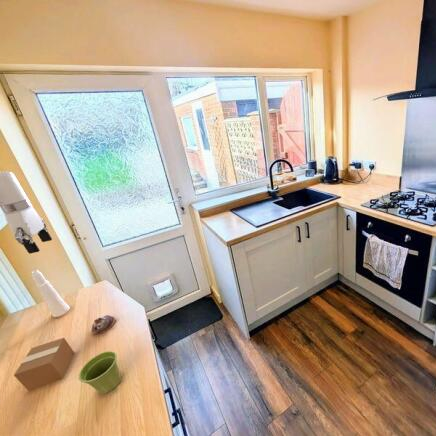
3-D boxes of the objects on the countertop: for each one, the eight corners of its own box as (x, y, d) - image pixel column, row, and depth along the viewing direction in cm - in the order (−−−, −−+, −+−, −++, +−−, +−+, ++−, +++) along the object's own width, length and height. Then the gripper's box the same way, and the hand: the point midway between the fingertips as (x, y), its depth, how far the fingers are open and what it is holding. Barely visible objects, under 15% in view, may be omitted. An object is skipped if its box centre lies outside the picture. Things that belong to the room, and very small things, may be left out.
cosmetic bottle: (55, 319, 105) (26, 278, 95) (50, 314, 108) (22, 274, 98) (72, 309, 109) (46, 269, 100) (67, 305, 112) (41, 265, 103)
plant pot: (84, 396, 73) (70, 378, 69) (111, 366, 81) (100, 348, 78) (108, 403, 71) (95, 384, 67) (134, 371, 79) (123, 353, 75)
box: (27, 391, 76) (12, 374, 73) (43, 363, 85) (31, 347, 82) (63, 378, 79) (50, 362, 76) (75, 352, 88) (64, 337, 84)
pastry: (92, 338, 93) (86, 328, 91) (91, 326, 98) (86, 317, 96) (117, 326, 97) (111, 316, 95) (114, 315, 103) (109, 306, 101)
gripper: (17, 201, 95) (41, 239, 103) (-14, 217, 81) (16, 260, 88) (41, 197, 98) (62, 234, 105) (15, 211, 83) (41, 254, 90)
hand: (41, 246), depth 96 cm, fingers open, 9 cm apart
